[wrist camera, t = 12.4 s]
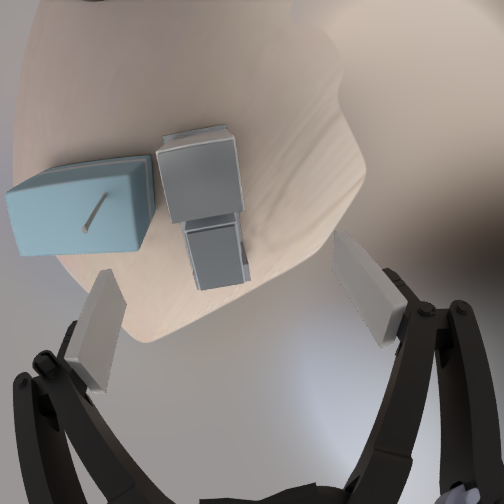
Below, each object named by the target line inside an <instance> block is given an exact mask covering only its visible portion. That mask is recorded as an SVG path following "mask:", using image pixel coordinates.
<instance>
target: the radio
mask: <svg viewBox="0 0 504 504" xmlns="http://www.w3.org/2000/svg"><path fill="white" fill-rule="evenodd" d="M5 199H6V204H7V208H8V213H9V217H10V221H11V225H12V229H13V233H14V236H15V240H16V243H17V246H18V250H19V253H20V255H21V256H23V257H25V256H47V255H68V254H90V253H112V252H135V251H138V250H139V249H140V246H141V244H142V242H143V239H144V237H145V234H146V232H147V230H148V227H149V225H150V223H151V221H152V218H153V216H154V214H155V203H154V191H153V177H152V161H151V156H150V155H144V156H132V157H123V158H114V159H106V160H98V161H91V162H84V163H77V164H71V165H65V166H59V167H54V168H49V169H46V170H45V171H43V172H41V173H39V174H37V175H35V176H33V177H31V178H30V179H28V180H26V181H24V182H23V183H21V184H19V185H17V186H16V187H14V188H12V189H11V190H9V191H7V192H6V193H5Z"/></svg>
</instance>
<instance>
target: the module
mask: <svg viewBox="0 0 504 504" xmlns="http://www.w3.org/2000/svg"><path fill="white" fill-rule="evenodd" d="M185 238H186V243H187V247H188V251H189V255H190V259H191V263H192V266H193V270H194V274H195V278H197V282H198V286H199V290H200V289H201V290H207V289H213V288H219V287H225V286H231V285H236V284H242V283H244V282H245V276H244V269H243V263H242V256H241V250H240V243H239V237H238V230H237V223H236V219H235V215H234V213H230V214H224V215H218V216H212V217H207V218H201V219H195V220H190V221H186V225H185Z"/></svg>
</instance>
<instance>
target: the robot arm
mask: <svg viewBox="0 0 504 504" xmlns="http://www.w3.org/2000/svg"><path fill="white" fill-rule="evenodd" d="M85 1H102V0H85ZM332 271H333V272H334V274H335V275H336V277H337V279H338V280H339V282H340V283H341V285H342V286H343V288H344V289H345V291H346V293H347V294H348V296H349V297H350V299H351V301H352V302H353V304H354V305H355V307H356V309H357V310H358V312H359V313H360V315H361V317H362V318H363V320H364V322H365V323H366V325H367V327H368V328H369V330H370V332H371V333H372V335H373V337H374V338H375V340H376V342H377V343H378V345H379V347H380V348H383V347H385V346H388V345H391V344H393V343H394V341H395V338H396V336H397V337H398V338H399V340H400V344H399V346H398V348H397V351H396V353H395V355H396V358H395V361H394V365H393V368H392V372H391V376H390V379H389V382H388V385H387V388H386V392H385V395H384V398H383V401H382V404H381V406H380V409H379V412H378V415H377V417H376V420H375V423H374V425H373V428H372V431H371V433H370V436H369V438H368V440H367V443H366V445H365V447H364V450H363V452H362V454H361V457H360V459H359V461H358V463H357V465H356V467H355V469H354V470H353V472H352V474H351V475H350V477H349V479H348V481H347V483H346V485H345V487H344V489H339V488H336V487H330V486H316V483H311V484H308V485H303V486H300V487H295V488H291V489H286V490H284V491H282V492H280V493H277V494H275V495H272V496H270V497H268V498H265V499H262V500H259V501H252V500H242V499H233V498H219V499H200V504H397V503H398V501H399V498H400V496H401V493H402V491H403V489H404V486H405V484H406V481H407V478H408V476H409V473H410V470H411V467H412V462H413V459H412V458H411V453H412V450H413V447H414V443H415V440H416V437H417V433H418V430H419V426H420V422H421V418H422V414H423V410H424V406H425V401H426V397H427V392H428V386H429V381H430V376H431V370H432V364H433V356H434V350H435V357H436V366H437V374H438V385H439V396H440V416H441V457H440V481H439V484H440V495H441V496H440V497H439V498H438V499H437V500H436V502H435V504H504V465H503V461H502V459H501V440H500V429H499V419H498V411H497V404H496V399H495V392H494V387H493V382H492V377H491V372H490V368H489V364H488V359H487V355H486V352H485V348H484V344H483V340H482V337H481V334H480V330H479V327H478V324H477V321H476V318H475V315H474V312H473V309H472V308H471V306H470V305H469V304H468V303H467V302H465V301H462V300H455V301H453V302H452V303H451V305H450V307H449V309H436V308H435V307H434V305H432V304H431V303H428V302H424V301H420V300H419V299H418V298H417V296H416V295H415V294H414V293H413V292H412V290H411V289H410V288H409V287H408V286H407V285H406V284H405V282H404V281H403V280H401V278H400V277H399V275H398V274H397V273H395V272H394V271H392V270H391V269H389V268H386V269H381V268H380V267H379V266H378V265H377V264H376V263H375V262H374V260H373V259H372V258H371V257H370V256H369V255H368V253H367V252H366V251H365V250H364V249H363V248H362V247H361V246H360V244H359V243H358V242H357V241H356V240H355V239H354V238H353V237H352V236H351V234H350V233H349V232H348V231H347V230H341V231H335V232H334V248H333V265H332ZM126 305H127V304H126V302H125V300H124V298H123V295H122V293H121V291H120V289H119V286H118V284H117V282H116V279H115V277H114V275H113V272H112V270H111V269H107V270H102V271H100V272H99V274H98V276H97V278H96V281H95V283H94V285H93V287H92V289H91V291H90V294H89V296H88V298H87V300H86V303H85V305H84V307H83V310H82V312H81V315H80V317H79V319H78V320H76V321H73V322H72V324H71V325H70V326H69V327H68V329H67V332H66V334H65V337H64V339H63V343H62V344H61V347H60V349H59V352H58V355H57V358H56V357H55V356H54V354H53V353H52V352H51V351H49V350H44V351H42V352H40V353H39V354H38V355H37V356H36V357H35V358H34V361H33V369H34V370H35V371H36V372H37V373H38V374H39V376H37V377H34V378H32V377H31V376H30V375H29V373H27V372H23V373H21V374H19V375H18V376H17V377H16V378H15V380H14V382H13V407H14V422H15V433H16V442H17V448H18V456H19V462H20V467H21V473H22V477H23V482H24V486H25V490H26V494H27V498H28V502H29V504H88V503H87V501H86V498H85V496H84V493H83V491H82V488H81V485H80V482H79V480H78V477H77V474H76V471H75V467H74V464H73V461H72V458H71V454H70V451H69V447H68V443H67V439H66V435H65V431H66V434H67V435H68V438H69V440H70V441H71V443H72V445H73V447H74V449H75V451H76V452H77V454H78V456H79V458H80V459H81V461H82V463H83V464H84V466H85V467H86V469H87V471H88V472H89V474H90V476H91V477H92V478H93V480H94V481H95V483H96V485H97V486H98V488H99V489H100V490H101V492H102V493H103V495H104V496H105V497H106V499H107V501H108V503H107V504H175V503H174V502H173V501H172V500H170V499H169V498H168V497H166V496H165V495H164V494H163V493H162V492H161V491H160V490H159V489H158V488H157V486H156V485H155V484H154V483H153V482H152V481H151V480H150V479H149V478H148V477H147V475H146V474H145V473H144V472H143V471H142V469H141V468H140V467H139V466H138V465H137V464H136V462H135V461H134V460H133V459H132V457H131V456H130V455H129V454H128V452H127V451H126V450H125V449H124V447H123V446H122V445H121V443H120V442H119V440H118V439H117V438H116V436H115V435H114V434H113V432H112V431H111V429H110V428H109V426H108V425H107V424H106V422H105V421H104V419H103V418H102V416H101V415H100V413H99V411H98V410H97V408H96V407H95V405H94V404H93V402H92V400H91V399H90V397H89V396H88V395H87V394H86V390H87V387H88V388H89V389H90V390H91V391H92V392H93V393H106V391H107V385H108V380H109V375H110V370H111V366H112V361H113V357H114V352H115V347H116V344H117V339H118V335H119V332H120V328H121V324H122V320H123V316H124V313H125V309H126ZM64 430H65V431H64Z"/></svg>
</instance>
